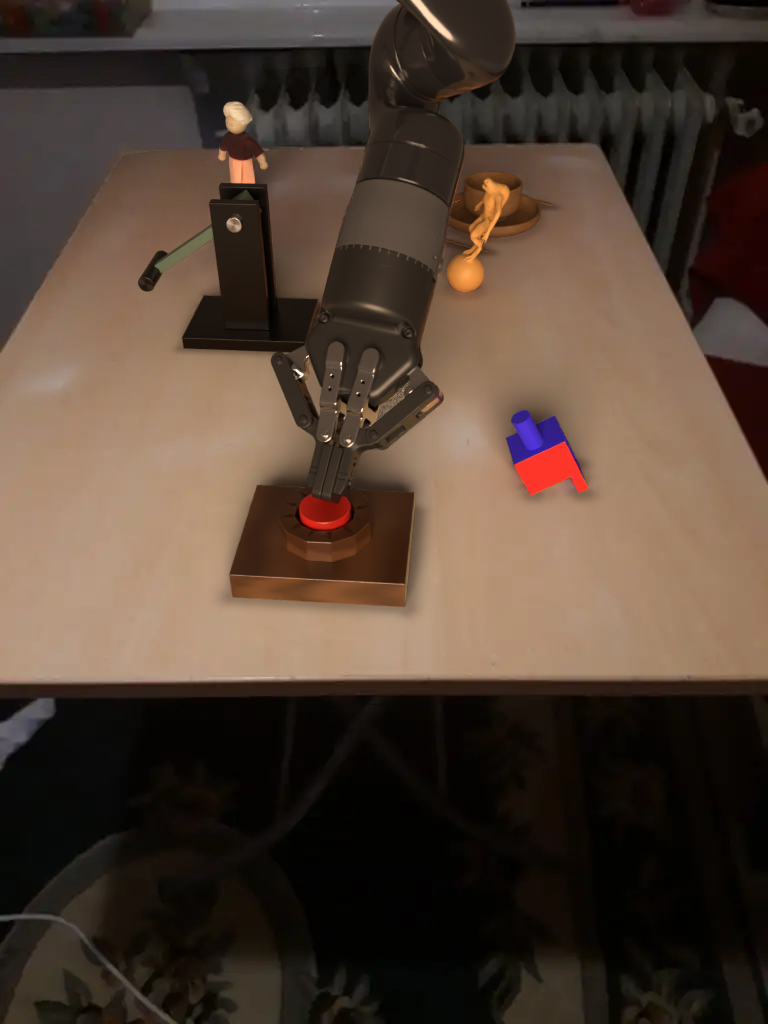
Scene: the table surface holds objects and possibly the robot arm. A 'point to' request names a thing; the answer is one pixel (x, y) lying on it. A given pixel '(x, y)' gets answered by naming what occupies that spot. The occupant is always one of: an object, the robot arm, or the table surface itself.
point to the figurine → (478, 239)
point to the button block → (325, 550)
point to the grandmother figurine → (240, 145)
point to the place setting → (514, 213)
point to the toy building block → (543, 453)
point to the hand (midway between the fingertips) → (325, 500)
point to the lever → (178, 253)
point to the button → (324, 514)
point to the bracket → (247, 283)
